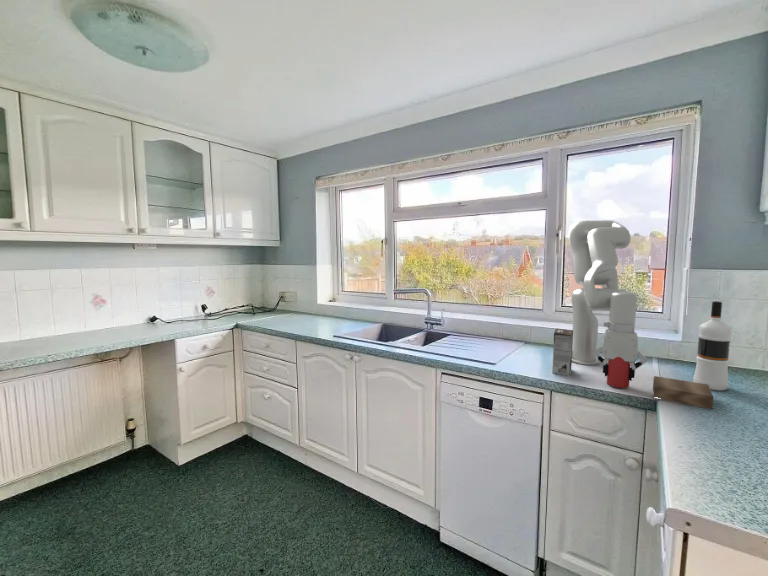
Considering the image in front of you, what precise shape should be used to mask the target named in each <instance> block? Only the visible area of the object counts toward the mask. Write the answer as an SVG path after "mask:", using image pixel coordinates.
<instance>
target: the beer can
mask: <svg viewBox="0 0 768 576" xmlns="http://www.w3.org/2000/svg"><path fill="white" fill-rule="evenodd" d="M630 368H631V366H630V364H629V362H626V361H624V360H623V359H622V358H621V357H615V358H614V359H612V360H610V359H609V361H608V372H607V376H606V384H607V385H608V386H610V387H612V388H616V389H620V388H625V389H628V388H629V387H630V380H629V375H630Z"/></svg>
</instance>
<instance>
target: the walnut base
mask: <svg viewBox="0 0 768 576" xmlns="http://www.w3.org/2000/svg"><path fill="white" fill-rule="evenodd" d="M652 384H653V385H652V388H653V389H652V390H653V391H654V394H653V398H654V397H658V398H661V399H663V400H662V401H665V400H666V401H667V402H671V403H676V404H682V405H686V406H691V407H697V408H703V409H708V410H713V407H714V406H713V405H714V402H713V401H714V395H713V393H712V390H710V388H709V386H708V384H701V383H695V382H693V381H689V380H682V379H681V380H680V379H676V378H669V377H663V376H657V375H654V376H653V383H652ZM666 401H665V402H666Z"/></svg>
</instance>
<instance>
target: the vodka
mask: <svg viewBox="0 0 768 576" xmlns="http://www.w3.org/2000/svg"><path fill="white" fill-rule="evenodd" d="M722 307H723V302H722V301H717V300H715V301H712V302H711V311H710V319H709V320H707V321H705V322H703V323H701V324H700V325H699V326H698V342H697V343H698V344H697V353H696V354H697V355H696V357H695V358H696V365H695V369H694V375H693V377H692V382H695V383H701V384H708V386H709V388H710V390H711V391H715V390H716V391H717V392H721V391H726V390H728V389H729V386H730V384H729V377H728V375H729V374H728V373H729V371H728V369H729V368H728V367H729V363H730V361H729V354H730V345H731V340H732V333H733V331H732V328H731V327H730V326H729V325H728V324H726V323H725V322H723V321H722V309H723V308H722Z"/></svg>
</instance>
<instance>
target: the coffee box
mask: <svg viewBox="0 0 768 576" xmlns="http://www.w3.org/2000/svg"><path fill="white" fill-rule="evenodd" d="M572 344H573V329H571V330H570V329H564V328H555V330H554V332H553V346H552V347H553V348H552V349H553V350H552V351H553V352H552V374H555V373H557V374H556V375H562V374H563V375H562V376H568V375H570V376H571V372H572V365H573V364H572V363H573V362H572Z"/></svg>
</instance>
